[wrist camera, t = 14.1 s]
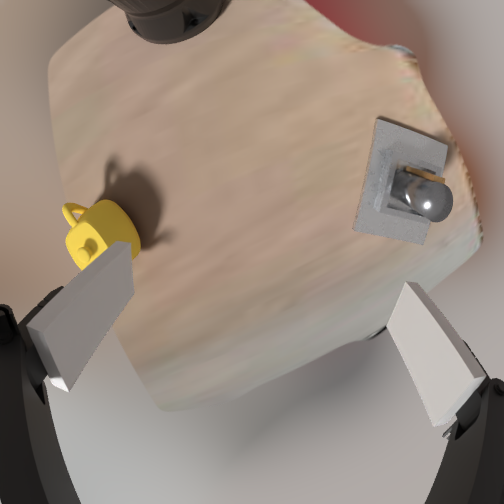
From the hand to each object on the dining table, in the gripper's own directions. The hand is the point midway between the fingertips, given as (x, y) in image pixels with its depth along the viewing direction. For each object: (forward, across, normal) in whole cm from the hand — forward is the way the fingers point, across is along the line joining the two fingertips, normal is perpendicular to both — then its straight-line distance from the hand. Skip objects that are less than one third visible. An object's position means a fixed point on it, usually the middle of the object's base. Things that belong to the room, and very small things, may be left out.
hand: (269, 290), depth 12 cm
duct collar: (+31, +22, +4) cm, 38 cm away
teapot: (+31, -24, -12) cm, 41 cm away
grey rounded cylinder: (+30, +22, +4) cm, 37 cm away
